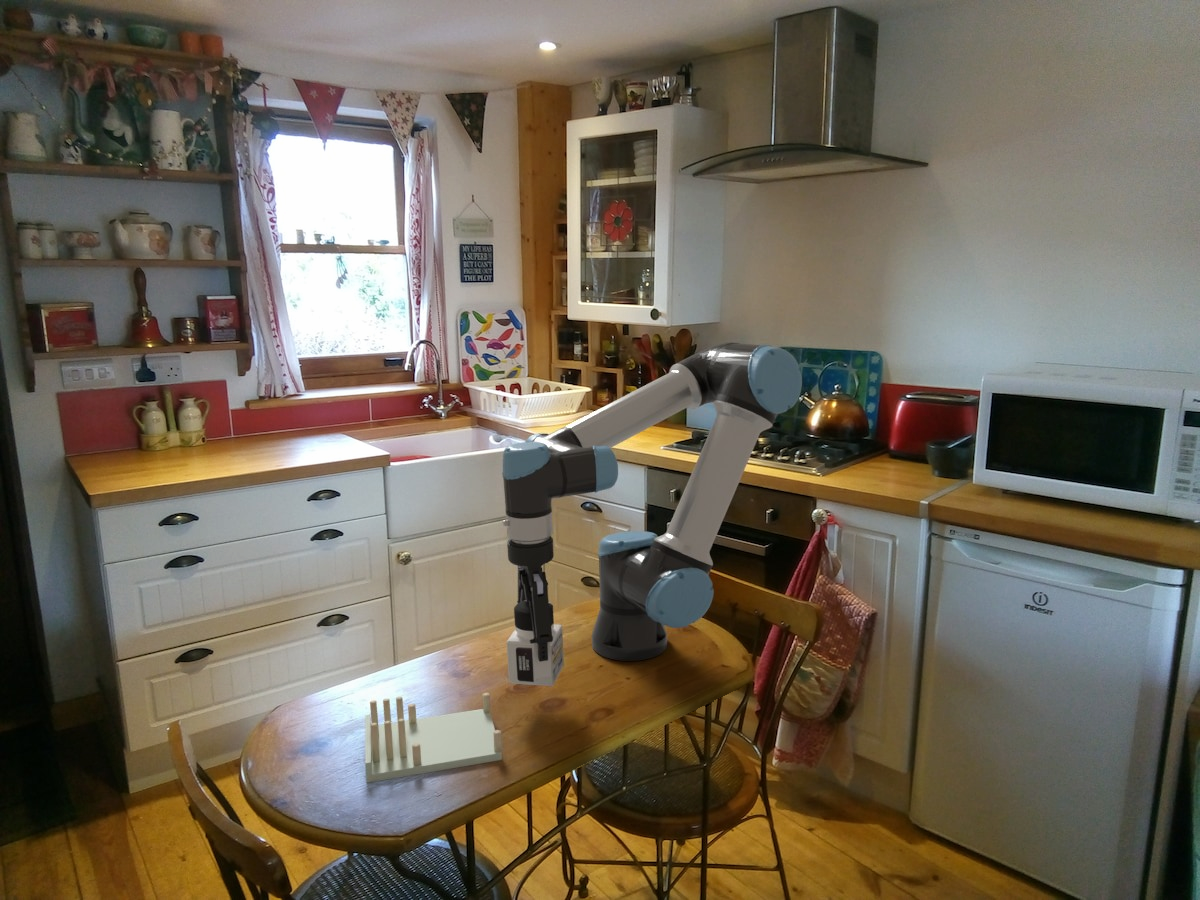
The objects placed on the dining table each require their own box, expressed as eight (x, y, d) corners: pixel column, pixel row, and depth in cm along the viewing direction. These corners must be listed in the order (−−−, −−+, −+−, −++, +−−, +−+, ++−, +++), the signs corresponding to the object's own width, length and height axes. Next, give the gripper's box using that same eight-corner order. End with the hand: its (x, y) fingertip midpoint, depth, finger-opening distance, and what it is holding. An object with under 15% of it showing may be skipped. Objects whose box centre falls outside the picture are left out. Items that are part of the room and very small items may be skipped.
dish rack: (490, 714, 139) (488, 675, 137) (503, 759, 126) (501, 716, 124) (366, 733, 134) (363, 692, 132) (366, 782, 120) (363, 738, 119)
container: (553, 687, 135) (549, 613, 132) (508, 684, 136) (504, 611, 134) (564, 665, 142) (561, 595, 140) (521, 662, 144) (517, 593, 141)
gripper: (496, 520, 144) (503, 637, 149) (519, 562, 122) (527, 697, 127) (538, 515, 146) (544, 631, 151) (568, 556, 124) (573, 689, 129)
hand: (536, 661), depth 139 cm, fingers closed on container, 10 cm apart
